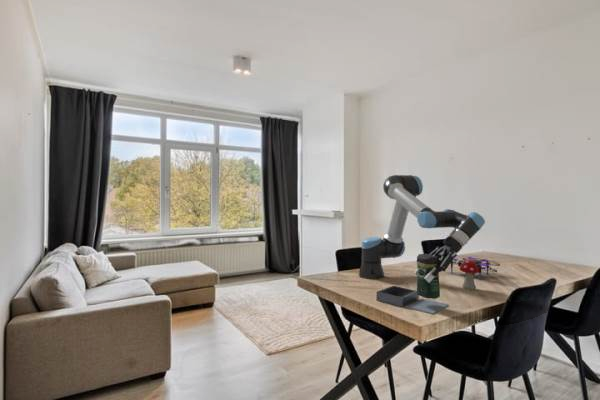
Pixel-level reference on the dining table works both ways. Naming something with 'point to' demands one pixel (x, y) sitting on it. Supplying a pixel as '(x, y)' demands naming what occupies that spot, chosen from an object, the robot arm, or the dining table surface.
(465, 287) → the decorative mushroom
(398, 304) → the locating collar
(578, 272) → the dining table surface
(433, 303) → the rubber pad
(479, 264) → the drone
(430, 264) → the coffee jar
